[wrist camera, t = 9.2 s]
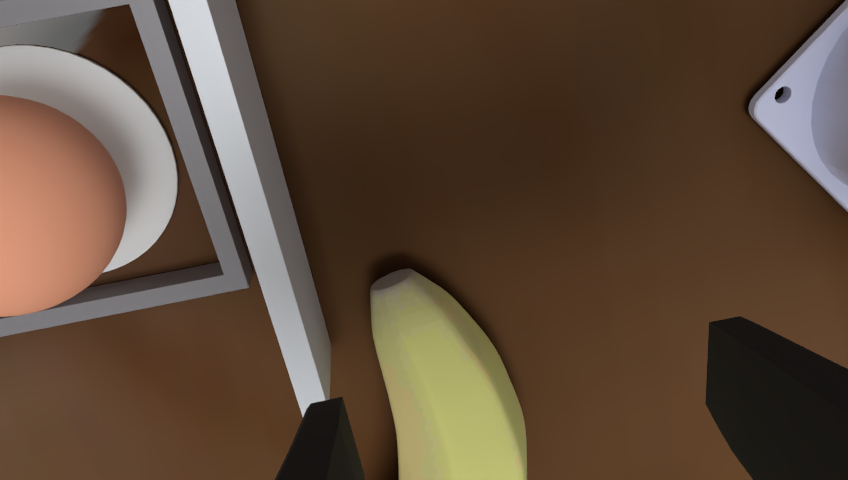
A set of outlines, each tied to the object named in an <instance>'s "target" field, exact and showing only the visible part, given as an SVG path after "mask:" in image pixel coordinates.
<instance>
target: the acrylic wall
mask: <svg viewBox="0 0 848 480" xmlns="http://www.w3.org/2000/svg"><path fill="white" fill-rule="evenodd" d="M168 1H169V4H170V7H171V10H172V13H173V16H174V19H175V22H176V26H177V29H178V32H179V35H180V38H181V41H182V44H183V47H184V50H185V53H186V57H187V60H188V63H189V66H190V69H191V72H192V75H193V78H194V81H195V84H196V88H197V91H198V94H199V97H200V100H201V103H202V106H203V109H204V112H205V115H206V119H207V122H208V125H209V128H210V131H211V134H212V137H213V140H214V143H215V146H216V150H217V153H218V156H219V159H220V162H221V165H222V168H223V171H224V174H225V177H226V180H227V184H228V187H229V190H230V193H231V196H232V199H233V202H234V205H235V208H236V211H237V215H238V218H239V221H240V224H241V227H242V230H243V233H244V236H245V239H246V242H247V246H248V249H249V252H250V255H251V258H252V261H253V264H254V267H255V270H256V273H257V277H258V280H259V283H260V286H261V289H262V292H263V295H264V298H265V301H266V304H267V308H268V311H269V314H270V317H271V320H272V323H273V326H274V329H275V332H276V335H277V338H278V342H279V345H280V348H281V351H282V354H283V357H284V360H285V363H286V366H287V369H288V373H289V376H290V379H291V382H292V385H293V388H294V391H295V394H296V397H297V400H298V404H299V407H300V410H301V413H302V416H303V417H304V414H305V412H306V409H307V408H308V406H309V405H310V404H311V403H315V402H320V401H325V400H329V398H330V366H331V342H330V339H329V335H328V332H327V328H326V324H325V321H324V317H323V314H322V310H321V306H320V303H319V299H318V296H317V292H316V289H315V285H314V281H313V278H312V274H311V271H310V267H309V263H308V260H307V256H306V253H305V249H304V245H303V242H302V238H301V235H300V231H299V228H298V224H297V220H296V217H295V213H294V210H293V206H292V202H291V199H290V195H289V192H288V188H287V184H286V181H285V177H284V174H283V170H282V167H281V163H280V159H279V156H278V152H277V149H276V145H275V141H274V138H273V134H272V131H271V127H270V123H269V120H268V116H267V113H266V109H265V106H264V102H263V98H262V95H261V91H260V88H259V84H258V80H257V77H256V73H255V70H254V66H253V62H252V59H251V55H250V52H249V48H248V45H247V41H246V37H245V34H244V30H243V27H242V23H241V19H240V16H239V12H238V9H237V5H236V1H235V0H168Z"/></svg>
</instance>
